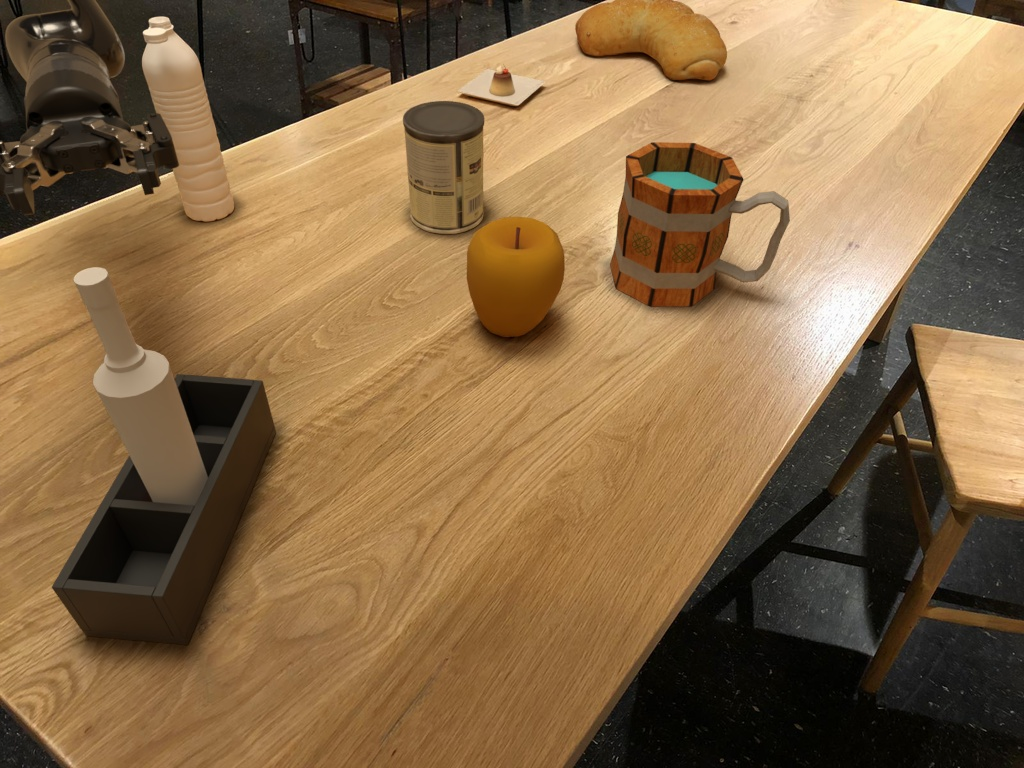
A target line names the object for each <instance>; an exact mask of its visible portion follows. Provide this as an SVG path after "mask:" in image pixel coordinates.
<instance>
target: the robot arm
mask: <svg viewBox="0 0 1024 768" xmlns="http://www.w3.org/2000/svg"><path fill="white" fill-rule="evenodd" d="M66 1H67V3H68V4H69V5H70V9H69V8H68V9H63V10H56V11H48V12H42V13H32V14H25V15H22V16H19V17H16V18H15V19H13V20H12V21H10V22H9V24H8V25H7V26H6V30H5V36H4V38H5V46H6V49H7V53H8V56H9V58H10V60H11V63H12V64H13V66H14V67H15V69H16V70H17V72H18V73H19V74H20V76H21V77H22V79H24V81H25V82H26V85H25V95H24V97H23V103H24V110H25V127H26V132H25V133H23V134H22V135H21V136H20V139H19V141H8V142H4V141H3V140H0V196H2V195H4V194H5V196H6V198H7V200H8V202H9V205H10V207H11V209H12V210H13V211H21V213H22V215H23V216H30V215H35V193H34V191H35V190H36V189H38V188H39V187H40V186H43V187H50V186H52V185H53V184H54V183H56V182H57V181H59V180H60V179H61V178H63V177H64V176H65V175H67V174H69V175H72V174H73V173H76V172H81V171H93V170H98V169H107V168H108V169H111V170H114V171H117V172H119V173H122V174H125V175H129V174H132V173H133V172H134V173H136V174H138V177H139V181H140V185H141V187H142V190H143V194H144V196H150V195H154V194H155V192H154V189H155V188H160V186H161V184H162V182H161V178H160V175H159V169H160V168H161V167H164V168H165V169H167V170H168V169H169V170H171V169H172V170H173V168H176V167H178V166H179V162H178V158H177V155H176V151H175V147H174V144H173V140H172V137H171V135H170V133H169V131H168V129H167V127H166V125H165V123H164V121H163V118H162V116H161V115H160V114H158V113H156V112H153V113H152V112H151V113H148V114H146V115H145V118H146V120H144V121H143V122H142V124H135V125H130V124H129V123H128V122H126V121H125V120H124V117H123V113H122V109H121V104H120V98H119V94H118V92H117V91H116V88H115V87H114V85H113V83H112V79H115V78H117V77H118V76H120V75H121V73H122V72H123V70H124V66H125V62H126V61H125V60H126V55H125V49H124V46H123V43H122V41H121V39H120V37H119V34H118V33H117V31H116V29H115V28H114V26H113V25H112V22H111V21H110V20H109V19H108V17H107V15H106V14H105V12H104V11H103V9H102V8H101V6H100V5H99V3H98V2H97V1H96V0H66ZM25 171H26V172H25Z"/></svg>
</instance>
